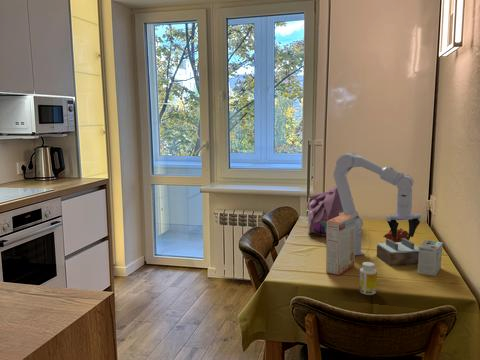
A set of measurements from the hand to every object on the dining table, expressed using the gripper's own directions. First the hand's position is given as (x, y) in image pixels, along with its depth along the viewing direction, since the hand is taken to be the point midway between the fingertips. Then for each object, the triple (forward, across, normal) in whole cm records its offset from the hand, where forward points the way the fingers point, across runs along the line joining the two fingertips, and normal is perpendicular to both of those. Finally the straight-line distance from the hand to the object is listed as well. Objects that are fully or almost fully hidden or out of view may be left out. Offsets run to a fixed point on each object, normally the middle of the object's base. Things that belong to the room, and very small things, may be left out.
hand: (402, 236), depth 180 cm
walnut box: (+10, -2, 0) cm, 10 cm away
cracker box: (+10, -30, -5) cm, 32 cm away
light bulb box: (+10, +4, -14) cm, 18 cm away
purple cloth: (+10, -12, +49) cm, 51 cm away
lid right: (+5, +2, -1) cm, 5 cm away
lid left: (+5, -5, 0) cm, 7 cm away
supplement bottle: (+10, -30, -28) cm, 42 cm away
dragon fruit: (+10, +9, +20) cm, 24 cm away
